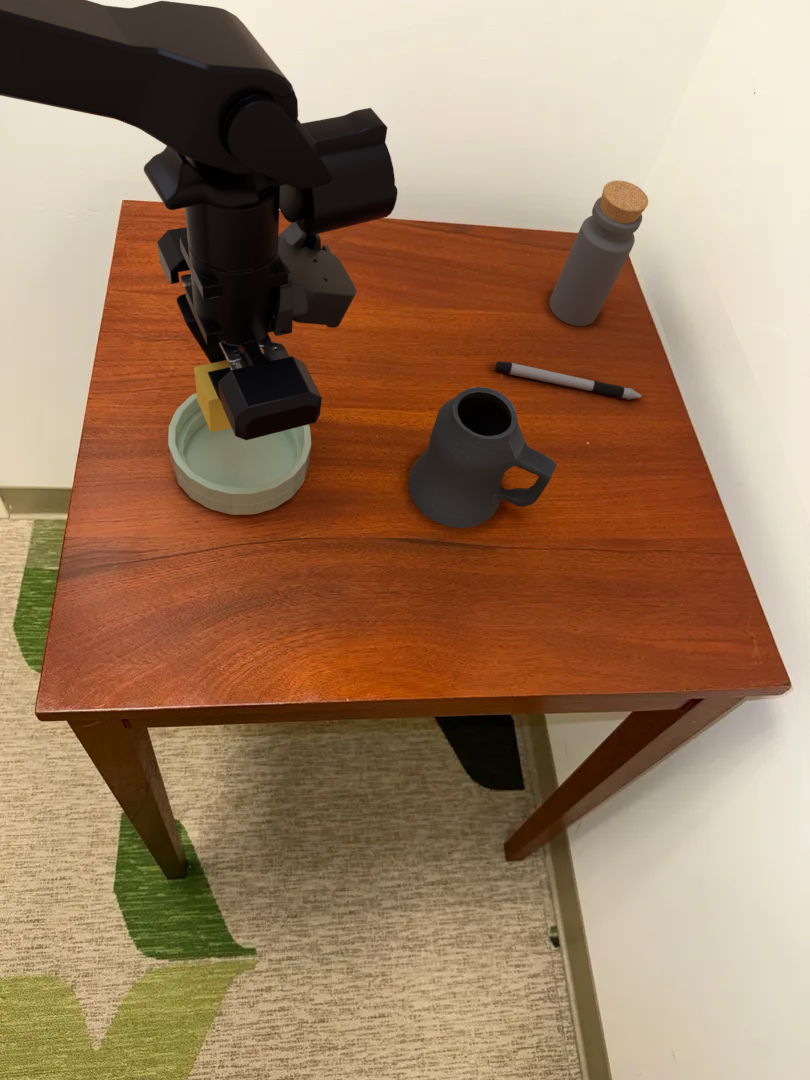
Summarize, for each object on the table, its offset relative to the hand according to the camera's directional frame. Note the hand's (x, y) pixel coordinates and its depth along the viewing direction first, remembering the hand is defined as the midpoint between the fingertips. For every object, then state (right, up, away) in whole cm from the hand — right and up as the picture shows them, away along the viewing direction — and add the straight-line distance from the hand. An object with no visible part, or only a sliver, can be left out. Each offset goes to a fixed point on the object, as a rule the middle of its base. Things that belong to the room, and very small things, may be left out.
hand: (238, 400), depth 63 cm
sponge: (0, -1, +1) cm, 1 cm away
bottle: (+33, +15, +26) cm, 45 cm away
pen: (+31, +5, +20) cm, 37 cm away
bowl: (-1, -4, +8) cm, 9 cm away
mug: (+20, -7, +11) cm, 24 cm away
